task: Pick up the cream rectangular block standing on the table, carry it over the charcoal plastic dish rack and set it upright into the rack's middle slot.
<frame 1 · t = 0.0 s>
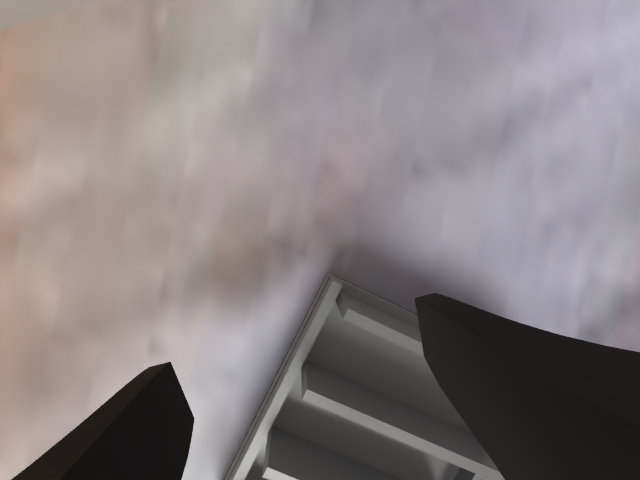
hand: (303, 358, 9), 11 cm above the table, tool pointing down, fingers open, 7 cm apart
dish rack: (370, 425, 21), on the table
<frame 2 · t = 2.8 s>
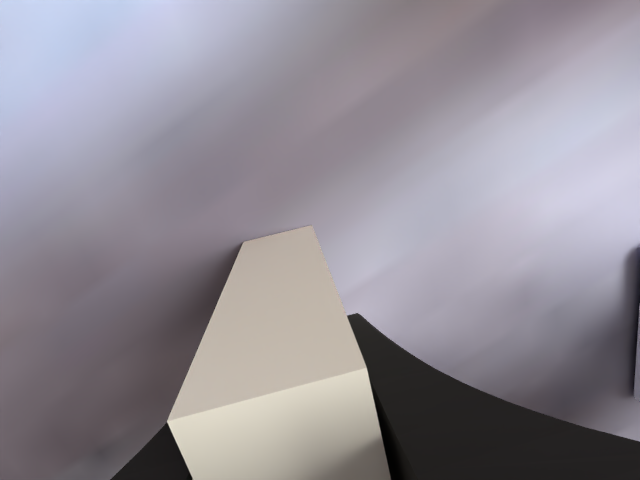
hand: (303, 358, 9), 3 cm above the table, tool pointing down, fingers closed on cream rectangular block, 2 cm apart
cream rectangular block: (297, 307, 13), on the table, touching gripper
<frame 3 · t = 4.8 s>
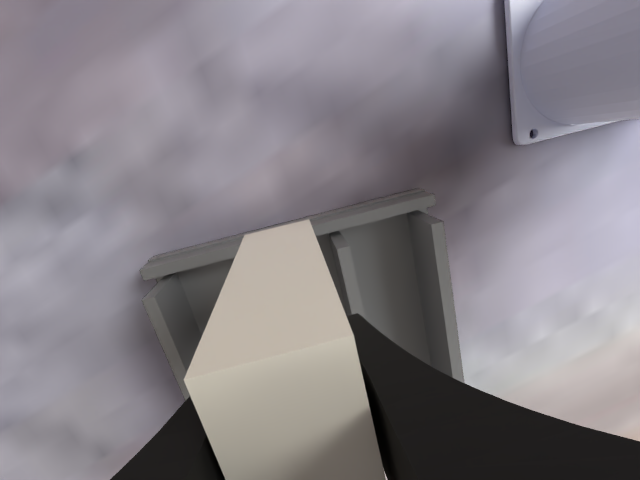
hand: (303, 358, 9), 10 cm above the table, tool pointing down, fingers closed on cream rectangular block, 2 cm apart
cream rectangular block: (295, 297, 13), point 6 cm above the table, touching gripper
dish rack: (316, 326, 21), on the table
when the fingers open (5 cm above the table, at t = 7.1 s): cream rectangular block stays where it is, resting on dish rack.
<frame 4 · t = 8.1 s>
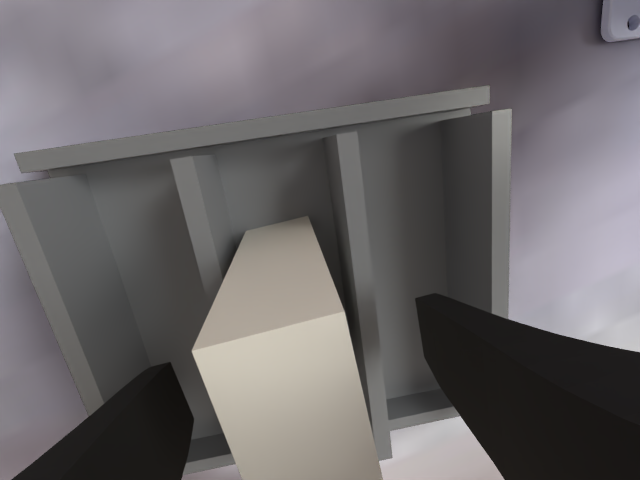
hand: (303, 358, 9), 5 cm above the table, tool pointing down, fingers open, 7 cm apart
cream rectangular block: (295, 291, 14), point 1 cm above the table, touching dish rack
dish rack: (295, 285, 15), on the table
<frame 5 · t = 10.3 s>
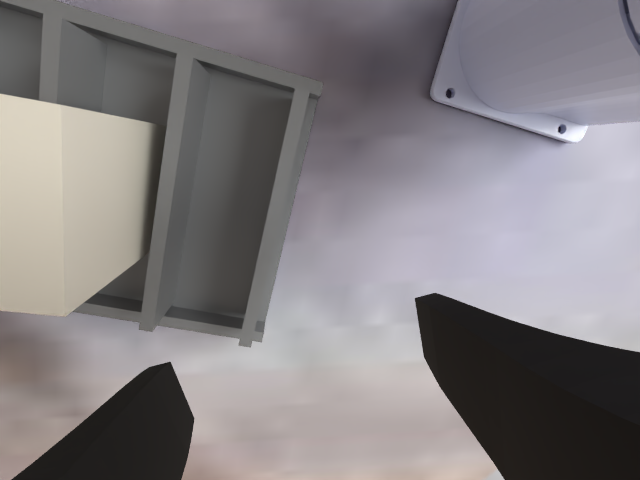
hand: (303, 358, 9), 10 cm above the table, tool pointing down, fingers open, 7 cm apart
cream rectangular block: (137, 183, 17), point 1 cm above the table, touching dish rack
dish rack: (144, 183, 17), on the table
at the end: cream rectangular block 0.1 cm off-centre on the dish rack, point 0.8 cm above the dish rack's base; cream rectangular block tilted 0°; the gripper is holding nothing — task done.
